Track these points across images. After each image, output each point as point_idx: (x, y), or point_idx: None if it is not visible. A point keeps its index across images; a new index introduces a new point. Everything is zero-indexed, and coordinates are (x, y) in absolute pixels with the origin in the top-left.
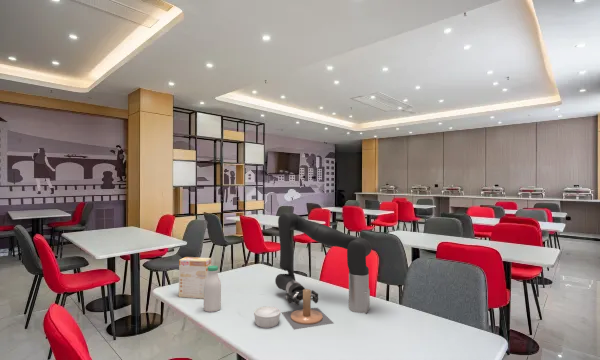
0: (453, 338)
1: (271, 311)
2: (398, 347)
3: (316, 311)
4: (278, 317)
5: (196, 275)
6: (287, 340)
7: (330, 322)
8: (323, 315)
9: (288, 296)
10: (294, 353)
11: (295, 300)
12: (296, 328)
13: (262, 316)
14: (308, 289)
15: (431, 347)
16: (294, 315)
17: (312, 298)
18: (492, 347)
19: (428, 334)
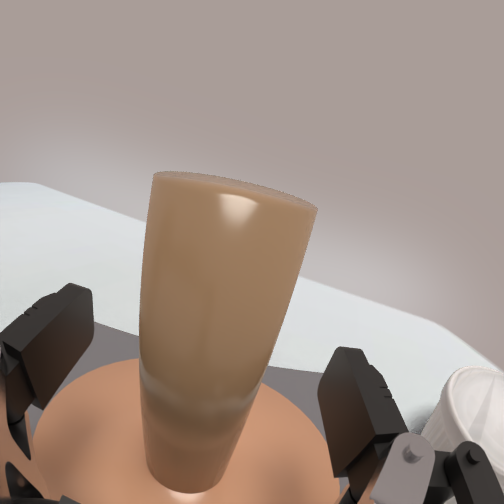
0: (11, 195)
1: (495, 413)
2: (97, 216)
3: (44, 457)
4: (438, 405)
5: None
6: (360, 334)
7: (96, 333)
8: (38, 408)
9: (493, 483)
10: (340, 292)
11: (380, 388)
12: (318, 376)
13: (501, 372)
14: (179, 180)
15: (60, 201)
16: (304, 500)
17: (16, 409)
18: (19, 184)
19: (11, 205)
